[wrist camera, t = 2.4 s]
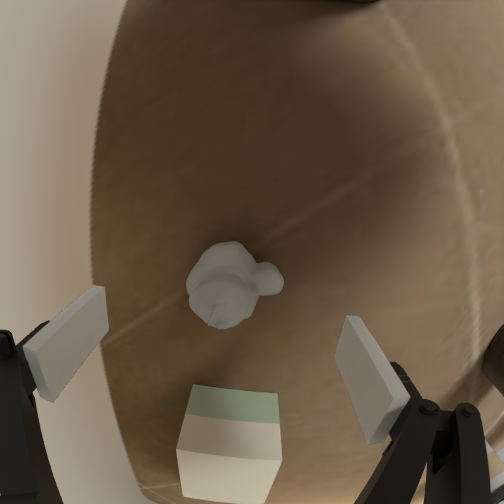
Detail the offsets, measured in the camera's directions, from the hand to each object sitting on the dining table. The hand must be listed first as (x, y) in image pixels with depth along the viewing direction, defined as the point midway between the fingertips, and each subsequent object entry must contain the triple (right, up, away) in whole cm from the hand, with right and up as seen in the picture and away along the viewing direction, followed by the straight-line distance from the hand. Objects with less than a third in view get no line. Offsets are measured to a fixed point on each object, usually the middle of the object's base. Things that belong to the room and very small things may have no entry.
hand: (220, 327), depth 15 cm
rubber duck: (0, +3, +7) cm, 8 cm away
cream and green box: (-1, -14, +12) cm, 18 cm away
